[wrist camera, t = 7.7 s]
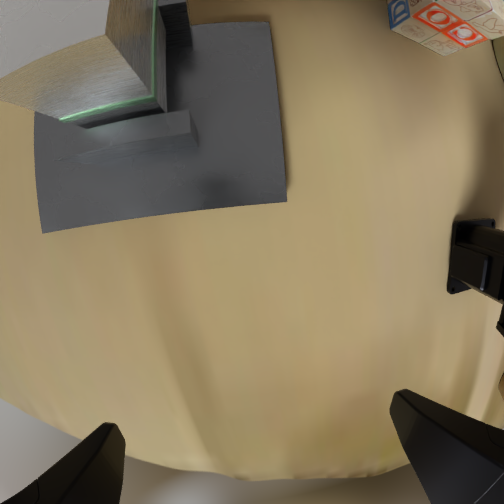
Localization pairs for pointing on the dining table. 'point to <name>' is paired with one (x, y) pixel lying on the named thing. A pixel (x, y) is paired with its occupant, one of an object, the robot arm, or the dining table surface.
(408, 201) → the dining table surface
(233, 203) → the grey stepped stand
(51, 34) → the column
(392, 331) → the dining table surface
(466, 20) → the stack of blocks
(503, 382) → the plant pot
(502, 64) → the vase
